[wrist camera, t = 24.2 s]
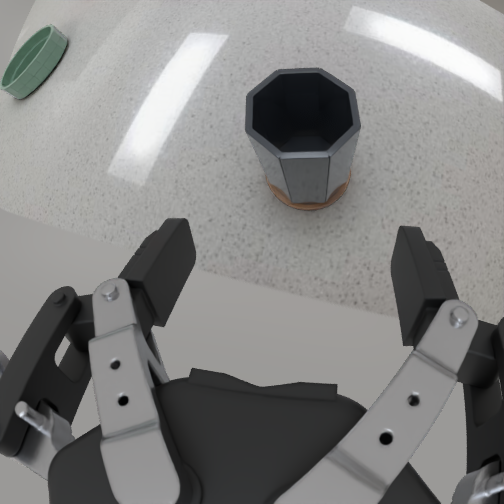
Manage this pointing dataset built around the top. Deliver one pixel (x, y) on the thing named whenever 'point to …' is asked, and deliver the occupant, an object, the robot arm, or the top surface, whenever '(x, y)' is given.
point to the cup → (303, 132)
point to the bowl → (33, 62)
